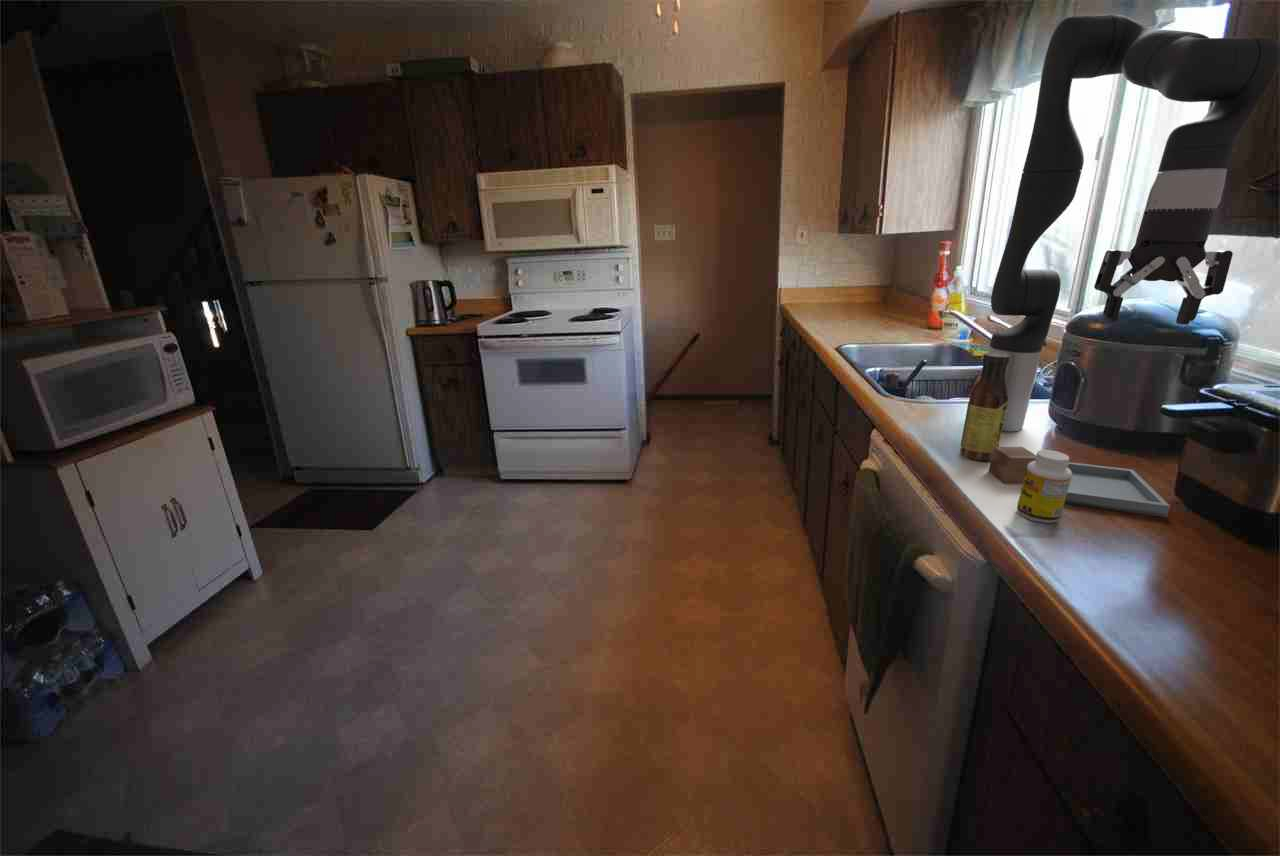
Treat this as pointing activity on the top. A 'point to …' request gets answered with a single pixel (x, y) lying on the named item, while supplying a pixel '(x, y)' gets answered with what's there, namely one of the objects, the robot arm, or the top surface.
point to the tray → (1113, 490)
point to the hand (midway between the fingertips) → (1145, 322)
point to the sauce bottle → (986, 409)
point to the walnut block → (1010, 464)
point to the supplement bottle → (1045, 487)
